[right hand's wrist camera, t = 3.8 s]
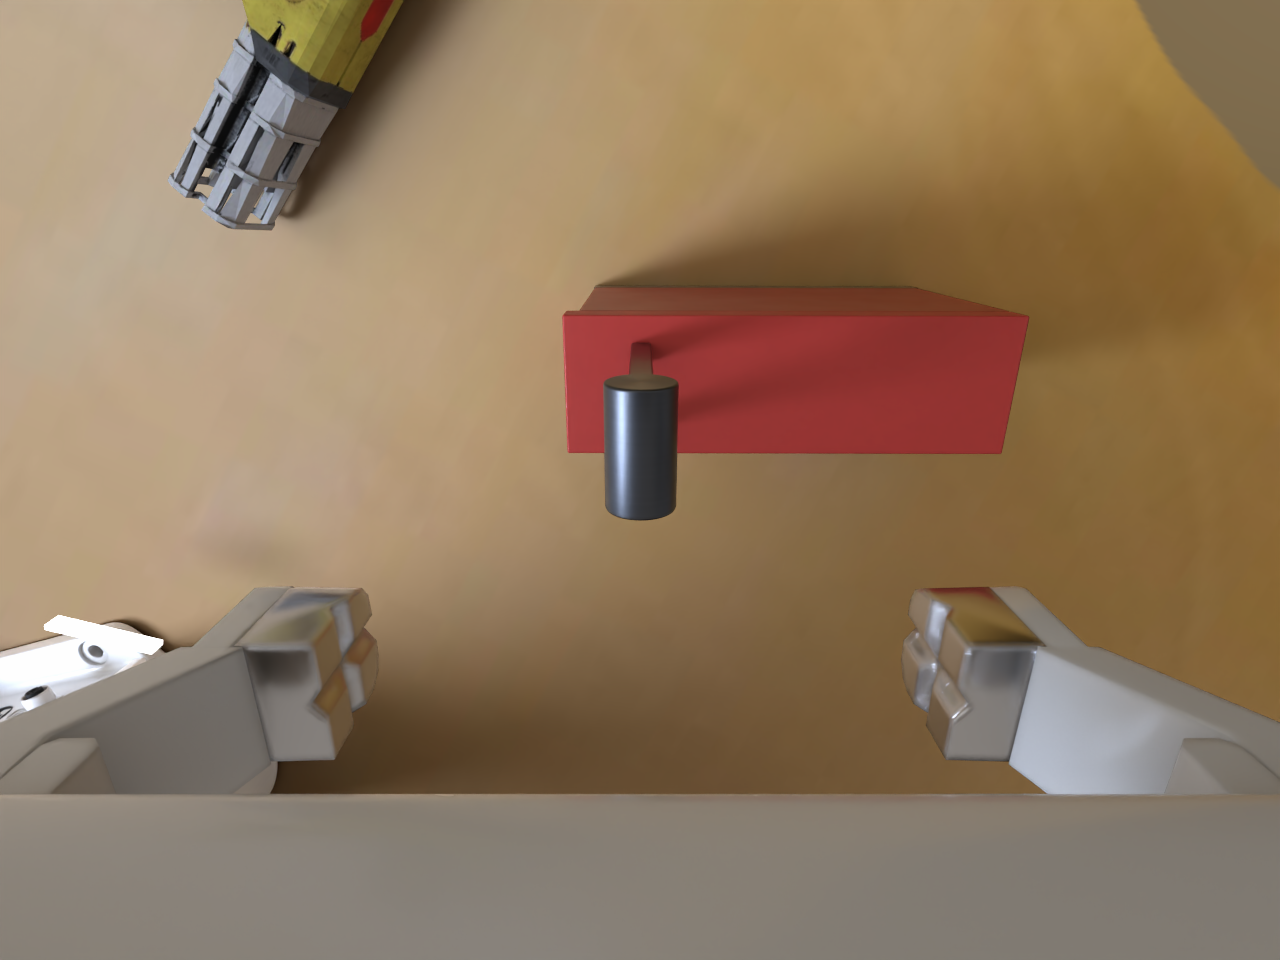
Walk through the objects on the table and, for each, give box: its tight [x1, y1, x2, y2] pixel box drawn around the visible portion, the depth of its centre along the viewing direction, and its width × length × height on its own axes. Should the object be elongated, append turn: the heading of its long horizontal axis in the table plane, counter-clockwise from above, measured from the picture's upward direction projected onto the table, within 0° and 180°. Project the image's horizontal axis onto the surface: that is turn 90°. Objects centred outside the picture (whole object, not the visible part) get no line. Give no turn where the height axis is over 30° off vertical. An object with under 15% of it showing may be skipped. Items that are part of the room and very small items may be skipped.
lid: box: [562, 311, 1029, 520], centre depth 21 cm, size 16×5×9 cm, turn 90°
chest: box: [580, 286, 1009, 312], centre depth 30 cm, size 16×5×10 cm, turn 90°
